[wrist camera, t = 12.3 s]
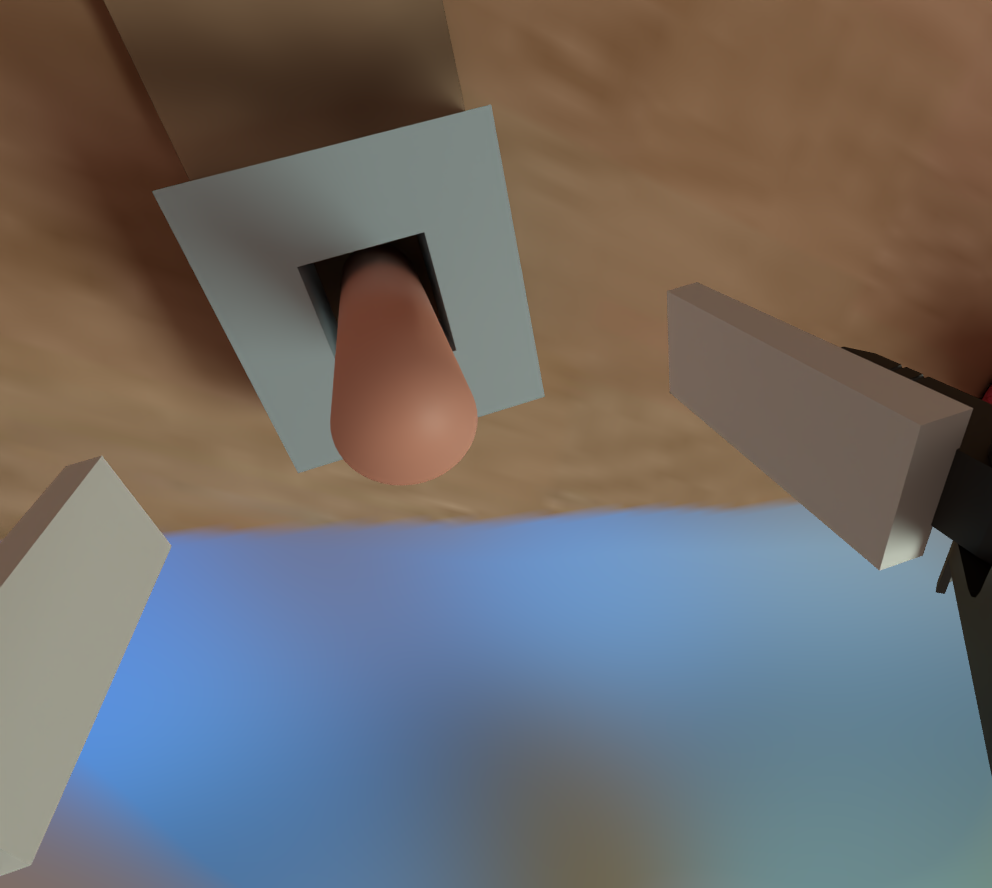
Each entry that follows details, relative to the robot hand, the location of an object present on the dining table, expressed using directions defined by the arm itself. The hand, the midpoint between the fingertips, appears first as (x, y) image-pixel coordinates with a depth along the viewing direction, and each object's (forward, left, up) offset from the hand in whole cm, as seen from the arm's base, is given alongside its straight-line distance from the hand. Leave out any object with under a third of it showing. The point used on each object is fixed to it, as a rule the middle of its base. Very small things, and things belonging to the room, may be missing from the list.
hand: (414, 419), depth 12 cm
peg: (0, 0, -16) cm, 16 cm away
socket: (0, 0, -16) cm, 16 cm away
